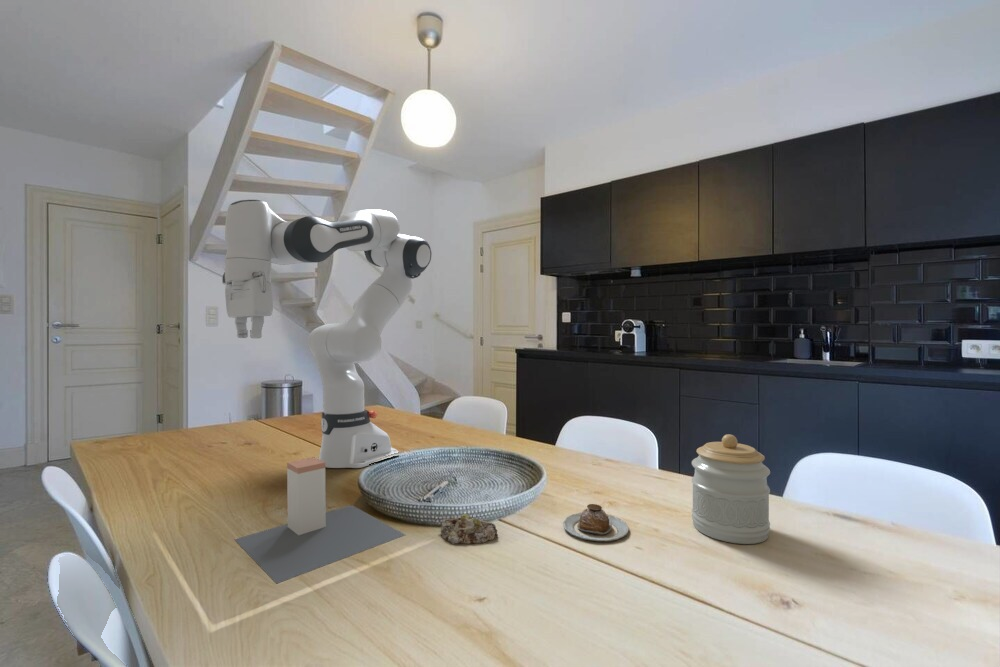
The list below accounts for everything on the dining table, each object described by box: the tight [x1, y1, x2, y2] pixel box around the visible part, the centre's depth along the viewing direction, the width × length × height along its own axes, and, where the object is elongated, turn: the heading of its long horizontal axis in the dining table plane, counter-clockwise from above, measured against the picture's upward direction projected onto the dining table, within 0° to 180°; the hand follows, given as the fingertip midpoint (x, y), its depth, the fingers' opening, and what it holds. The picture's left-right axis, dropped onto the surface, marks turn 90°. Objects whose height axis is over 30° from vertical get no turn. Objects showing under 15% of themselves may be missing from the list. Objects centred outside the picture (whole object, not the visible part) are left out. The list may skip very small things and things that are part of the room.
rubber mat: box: [234, 504, 406, 584], centre depth 81 cm, size 22×20×1 cm
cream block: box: [286, 456, 327, 535], centre depth 86 cm, size 5×5×12 cm
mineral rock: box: [440, 513, 499, 545], centre depth 83 cm, size 11×4×8 cm
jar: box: [691, 433, 771, 545], centre depth 85 cm, size 13×13×18 cm
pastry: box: [562, 503, 630, 542], centre depth 86 cm, size 12×12×5 cm
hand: (248, 338), depth 100 cm, fingers open, 8 cm apart
